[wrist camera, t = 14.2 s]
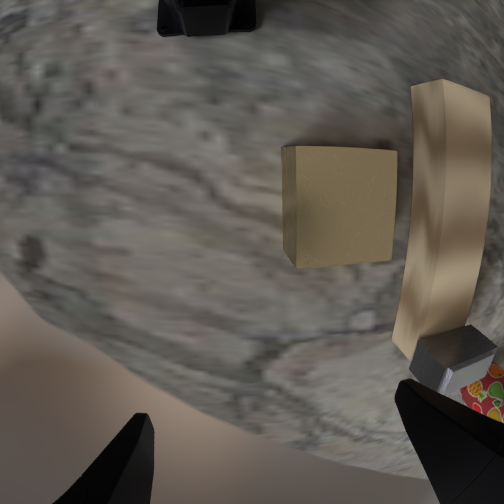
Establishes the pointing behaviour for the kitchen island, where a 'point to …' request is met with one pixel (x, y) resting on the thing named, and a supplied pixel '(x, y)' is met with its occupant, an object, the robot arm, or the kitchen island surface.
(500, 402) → the smoothie
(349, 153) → the tan rectangular block
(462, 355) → the dark grey block
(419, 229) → the body
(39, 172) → the kitchen island surface
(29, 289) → the kitchen island surface
